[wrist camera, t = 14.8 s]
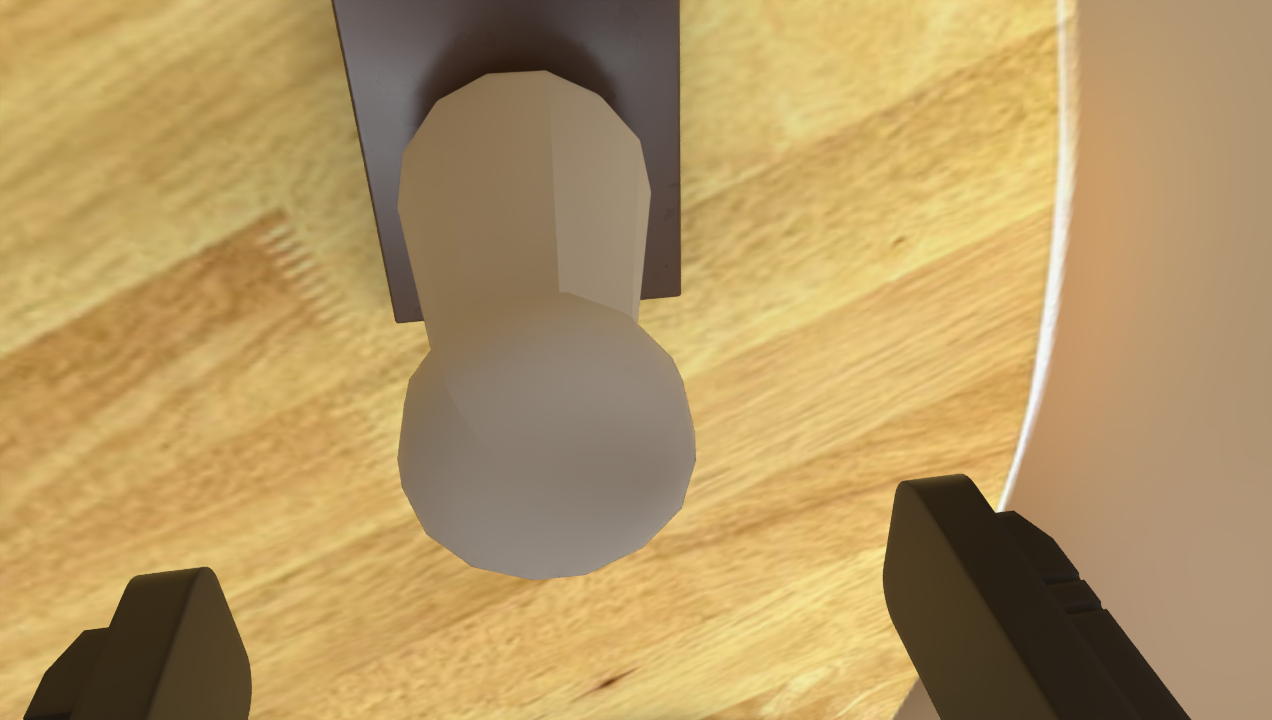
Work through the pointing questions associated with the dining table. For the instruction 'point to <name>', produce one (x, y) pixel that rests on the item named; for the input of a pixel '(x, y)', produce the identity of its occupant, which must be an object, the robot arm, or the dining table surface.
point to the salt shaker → (536, 334)
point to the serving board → (502, 43)
